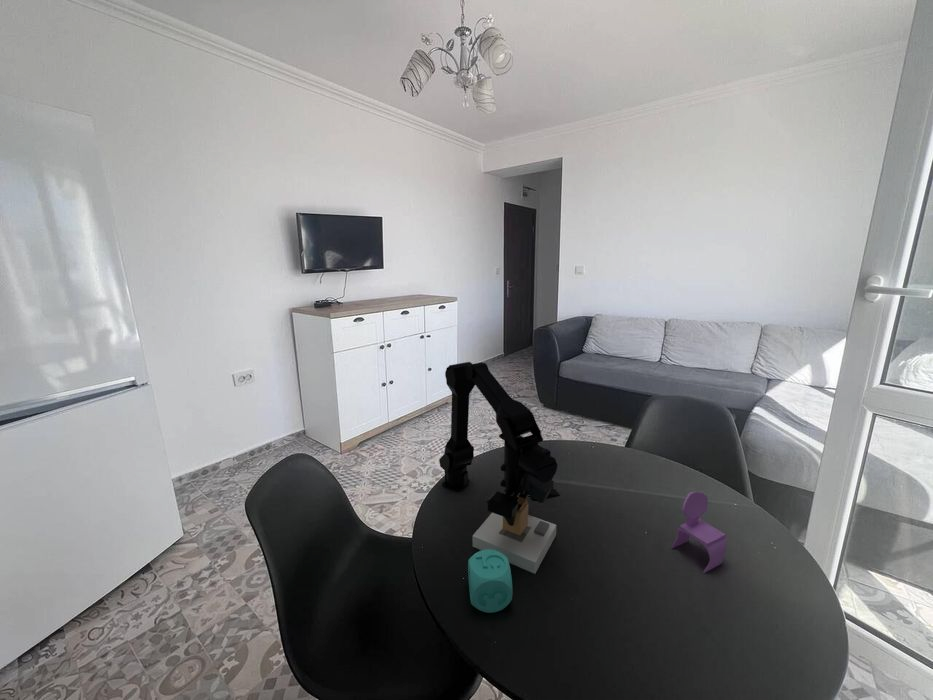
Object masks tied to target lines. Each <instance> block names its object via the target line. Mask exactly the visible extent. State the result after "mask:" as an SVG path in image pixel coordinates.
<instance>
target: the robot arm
mask: <svg viewBox="0 0 933 700" xmlns="http://www.w3.org/2000/svg"><path fill="white" fill-rule="evenodd" d="M444 375H445V376H444V377H445V380H446V386H447V387H448V388H449V390H450V391H451V413H450V414H451V415H450V416H451V420H450V422H451V423H450V437H449V439H448V441H447V442H446V444H445V447H444V453H443V455H441V457H440V458H439V459H438V462H439V466H440V468H441V469H442V470H443V471H444V481H443V482H442V483H441V486H442V487H445V488H447V489H450V490H453V491H456V492H460V491H462V489H464V488H465V487H466V486H467V485H468V484H469V483H470V482H471V480H470V479H469V471H468V467H467V466H472V462H473V459H474V458H475V454H474V451H475V447H474V445H472V443H471V442H470V441H469V437H468V435H469V411H470V410H469V408H470V407H469V406H470V394H471V393H472V391H473V389H474V388H475V387H476V388H477V389H478V391H479V392H480V393H481V394H482V395H483V397H484V399H485V400H486V401H487V403H488V404H489V405H490V406H491V408H492V409H493V411H494V412H495V423H496V424H497V426H498V427H499V430H500V431H501V433H500V434H499V435H498V438H499V439H502V440H503V441H504V442H503V443H504V444H503V445H504V446H503V447H504V448H503V449H504V453H503V464H502V465H500V471H502V472H503V479H502V480H501V481H500V487H502V488H505V489H504V490H503V492H500V491H496V492H494V493H493V494H492V495H491V496H490V497H489V498H488V499H487V501H486V510H487V511H488V512H489V513H495V514H498V515H500V516H503V517H505V519H506V521H507V523H508V524H509V525H510V526H513V524H514V520H515V514H516V512H517V511H518V510H519V509H520V508H521V506H522V505H521V504H518V500H519V498H518V496H519V497H521V498H524V499H527V498H528V494H529V495H530V496H532V497H533V498H535V499H536V500H537V501H536V502H538V503H539V504H543V503H545V501H546V500H547V499H546V498H547V497H548V495H549V493H550V491H551V489H552V487H553V488H554V484H555V483H554V480H553V478H554V476H555V475H556V473H557V470H558V463H557V460H556V458H555V457H554V456H552V455H551V450H550V449H548V448H544V447H543V446H541V445H539V443H542V442H543V441H544V438H543V436H542V431H541V429H540V428H539V425H538V423H537V421H536V418H535V415H534V414H533V412H532V411H531V410H530V409H529V408H528V407H527V406H526V405H525V404H523V402H520V401H518V400H516V399H513V398H512V397H511V396H510V394H509V393H508V392H507V391H506V390H505V388H504V387H503V386H502V385H501V383H500V382H499V381H498V380H497V379H496V378H495V376H494V374H492V372H491V371H490V370H489V366H488V364H487V363H485V362H480V361H479V362H476V363H472V362H471V361H465V362H459V363H455V364H454V363H453V364H449V365H448V366H447V367H446V369H445V372H444ZM529 433H530V434H529ZM525 434H529V435H527V436H522V435H525ZM527 500H528V499H527Z"/></svg>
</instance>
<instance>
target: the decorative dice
mask: <svg viewBox="0 0 933 700" xmlns="http://www.w3.org/2000/svg"><path fill="white" fill-rule="evenodd" d="M467 570H468V571H467V572H468V587H469V589H468V590H469V597H470V599H469V600H470V604H471V605H472V607H474V608H475V609H477V610H479V611H480V612H483V613H490V614H493V613H497V612H500V611H502V610H504V609H505V608H506V607H507V606H509V604H510V603H511V602H512V600H513V579H512V573H511V572H512V571H511V570H512V569H511V566H510V563H509V561H508V558H507V557H506V556H505V555H504V554H502V553H500V552H499V551H496V550H492V549H486V550H479V551H476V553H474V554H473V555H472V556H470V557H469V559H468V560H467Z"/></svg>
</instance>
